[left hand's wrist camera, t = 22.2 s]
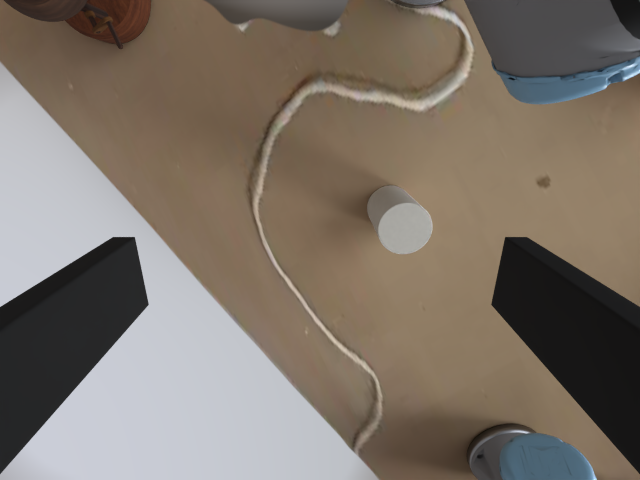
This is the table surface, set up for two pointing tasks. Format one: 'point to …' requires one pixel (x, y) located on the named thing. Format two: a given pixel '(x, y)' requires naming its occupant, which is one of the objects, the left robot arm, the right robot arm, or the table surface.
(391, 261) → the table surface
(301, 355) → the table surface
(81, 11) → the music box
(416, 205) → the can
